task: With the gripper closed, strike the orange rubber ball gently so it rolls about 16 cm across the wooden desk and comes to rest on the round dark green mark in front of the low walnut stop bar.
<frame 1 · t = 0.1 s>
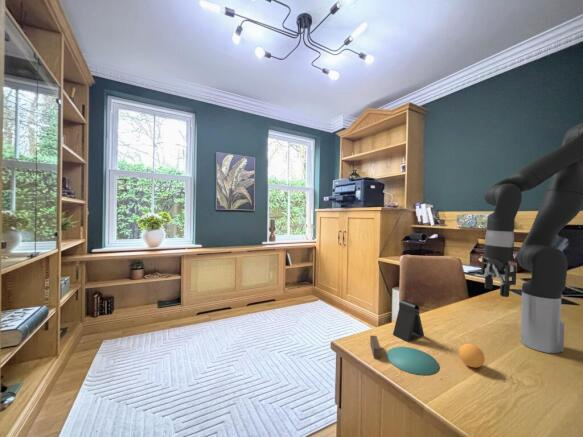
hand: (495, 292, 85), 17 cm above the table, tool pointing down, fingers open, 8 cm apart
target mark: (411, 359, 75), on the table
stop bar: (375, 351, 80), on the table
ball: (471, 355, 72), on the table
phone stand: (408, 336, 90), on the table
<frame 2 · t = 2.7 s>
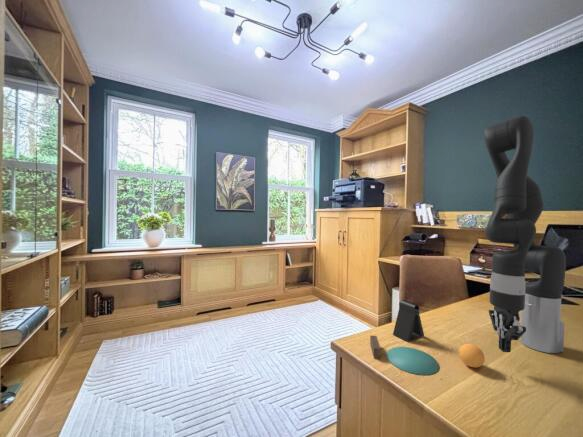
hand: (504, 350, 71), 5 cm above the table, tool pointing down, fingers closed
nothing on the table moved.
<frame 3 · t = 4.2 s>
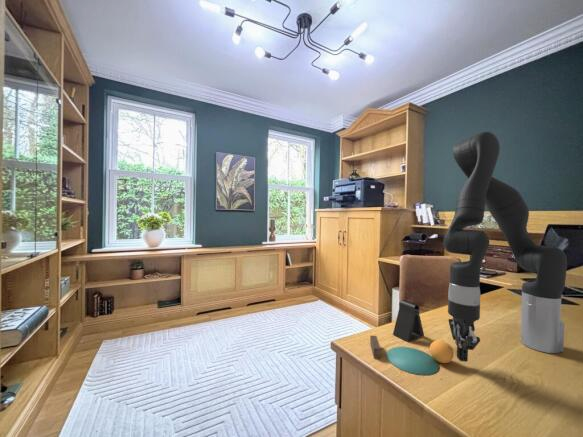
hand: (462, 359, 72), 2 cm above the table, tool pointing down, fingers closed
ball: (441, 351, 74), on the table
everything else where it was.
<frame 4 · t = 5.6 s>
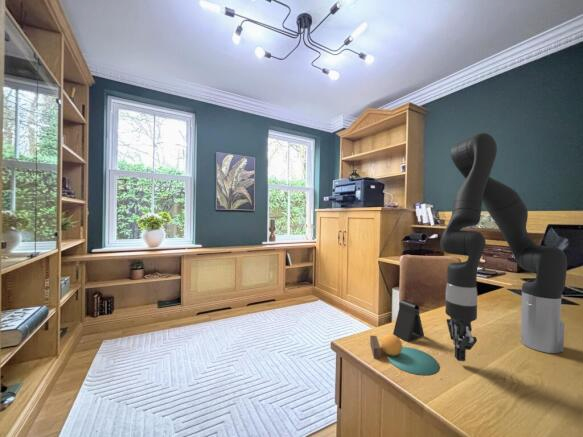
hand: (459, 359, 73), 2 cm above the table, tool pointing down, fingers closed
ball: (391, 344, 78), on the table
everything else where it was.
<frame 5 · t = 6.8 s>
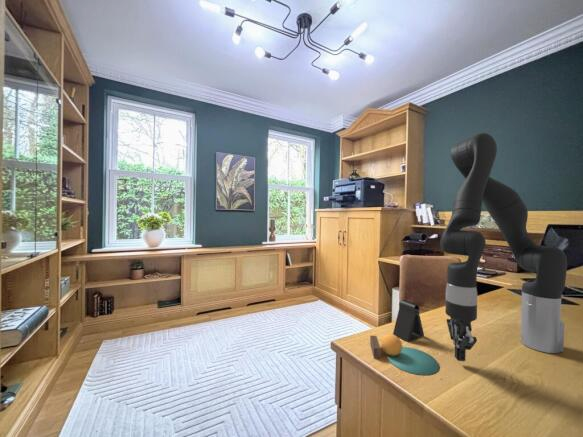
hand: (459, 359, 73), 2 cm above the table, tool pointing down, fingers closed
nothing on the table moved.
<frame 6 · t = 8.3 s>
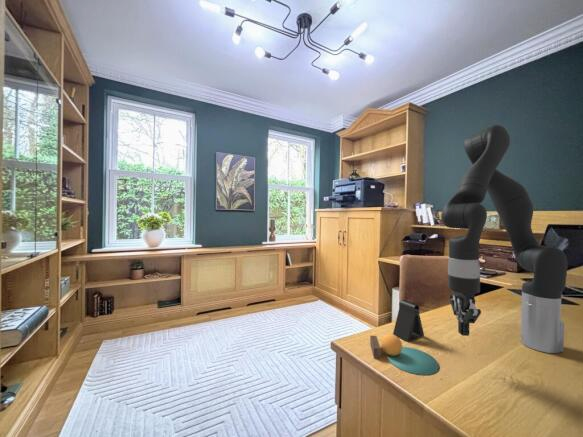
hand: (463, 334, 72), 9 cm above the table, tool pointing down, fingers closed
nothing on the table moved.
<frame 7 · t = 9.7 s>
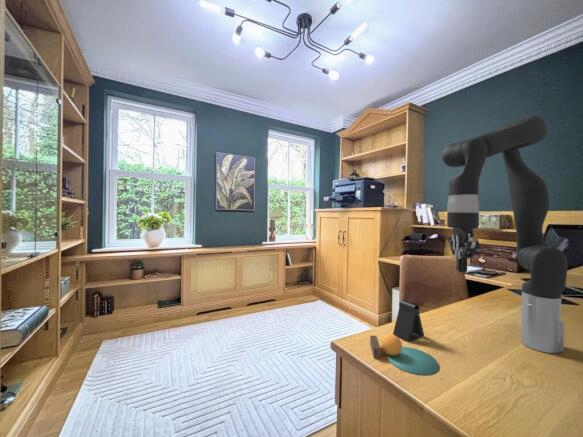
hand: (461, 271, 72), 27 cm above the table, tool pointing down, fingers closed
nothing on the table moved.
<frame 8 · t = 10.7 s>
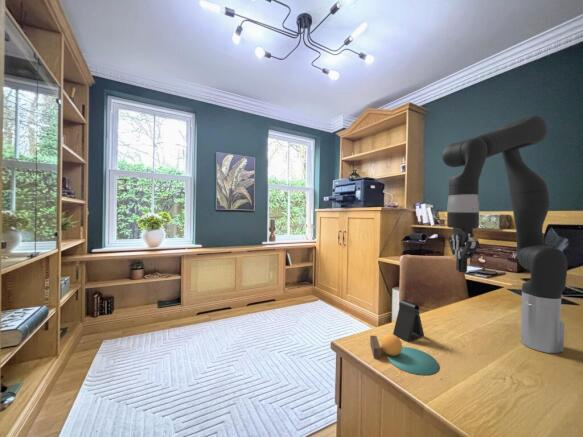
hand: (461, 271, 72), 27 cm above the table, tool pointing down, fingers closed
nothing on the table moved.
at the end: ball 5.7 cm from the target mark (horizontally); ball at rest at the end (0.0 cm/s); ball moved 21.4 cm from its start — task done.
